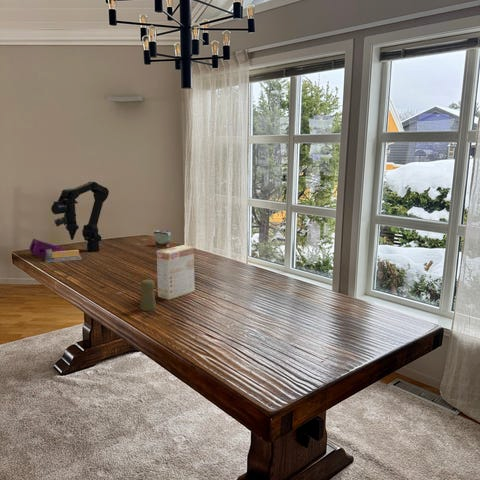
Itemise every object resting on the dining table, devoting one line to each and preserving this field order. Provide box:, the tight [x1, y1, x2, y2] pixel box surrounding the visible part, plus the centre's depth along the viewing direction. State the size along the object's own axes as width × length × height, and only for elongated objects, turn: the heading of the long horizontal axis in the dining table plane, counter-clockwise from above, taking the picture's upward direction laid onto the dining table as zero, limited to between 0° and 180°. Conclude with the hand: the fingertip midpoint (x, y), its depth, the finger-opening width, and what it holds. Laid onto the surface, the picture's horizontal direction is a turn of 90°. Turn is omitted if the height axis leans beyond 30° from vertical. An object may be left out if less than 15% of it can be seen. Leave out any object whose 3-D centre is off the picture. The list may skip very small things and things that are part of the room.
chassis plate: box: [44, 253, 82, 263], centre depth 243 cm, size 18×14×1 cm
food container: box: [153, 229, 172, 249], centre depth 275 cm, size 12×6×10 cm, turn 58°
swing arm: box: [46, 249, 80, 259], centre depth 239 cm, size 17×3×5 cm, turn 116°
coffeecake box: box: [156, 244, 196, 301], centre depth 181 cm, size 15×7×20 cm, turn 141°
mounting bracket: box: [29, 238, 67, 258], centre depth 251 cm, size 10×8×18 cm
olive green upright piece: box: [139, 279, 157, 312], centre depth 165 cm, size 6×6×11 cm
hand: (72, 239), depth 246 cm, fingers closed
